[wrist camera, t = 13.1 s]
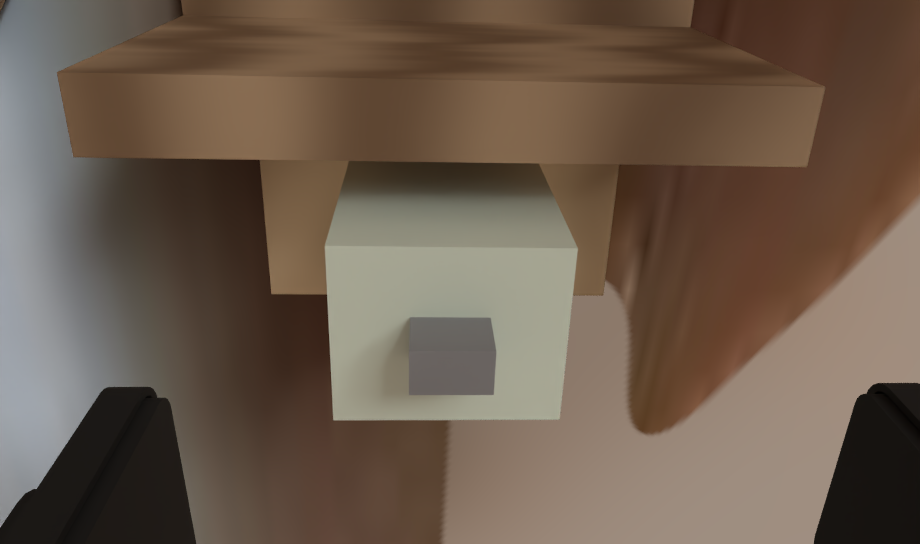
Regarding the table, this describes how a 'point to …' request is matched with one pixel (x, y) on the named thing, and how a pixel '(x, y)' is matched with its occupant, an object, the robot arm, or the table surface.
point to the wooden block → (1, 4)
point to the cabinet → (448, 292)
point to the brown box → (436, 102)
